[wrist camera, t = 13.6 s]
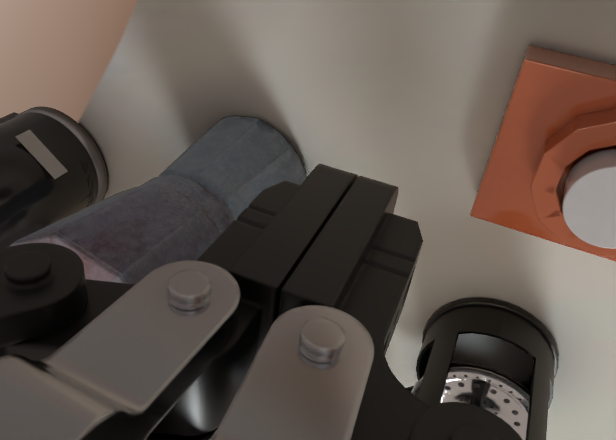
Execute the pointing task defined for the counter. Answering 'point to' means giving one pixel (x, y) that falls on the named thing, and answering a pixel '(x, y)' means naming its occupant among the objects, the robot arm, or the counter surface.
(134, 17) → the counter surface
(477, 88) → the counter surface
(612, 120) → the orange button block
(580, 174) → the pale grey round puck
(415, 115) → the counter surface
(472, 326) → the french press
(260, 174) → the moka pot
